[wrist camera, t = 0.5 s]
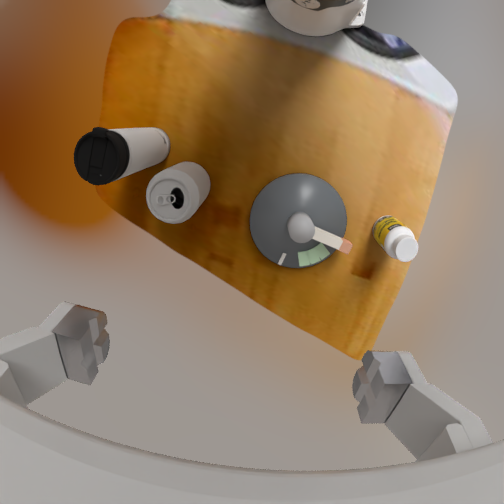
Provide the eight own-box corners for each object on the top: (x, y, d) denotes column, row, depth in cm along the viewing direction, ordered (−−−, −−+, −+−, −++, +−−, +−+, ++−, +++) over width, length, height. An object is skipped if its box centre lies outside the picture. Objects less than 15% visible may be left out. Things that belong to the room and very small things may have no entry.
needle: (283, 229, 51) (284, 237, 48) (293, 207, 50) (295, 213, 46) (341, 254, 52) (346, 262, 49) (351, 233, 51) (357, 241, 47)
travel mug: (175, 130, 47) (124, 133, 28) (165, 168, 49) (111, 194, 31) (141, 121, 46) (76, 123, 28) (131, 159, 49) (66, 180, 30)
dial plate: (273, 157, 48) (273, 158, 47) (360, 197, 50) (363, 199, 49) (235, 244, 54) (235, 247, 52) (319, 277, 56) (320, 281, 54)
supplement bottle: (387, 208, 50) (411, 225, 41) (404, 229, 52) (428, 250, 43) (365, 228, 52) (385, 249, 43) (382, 249, 53) (403, 273, 44)
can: (212, 204, 51) (198, 227, 40) (169, 206, 52) (144, 228, 40) (210, 159, 48) (195, 169, 37) (165, 162, 49) (138, 173, 38)
